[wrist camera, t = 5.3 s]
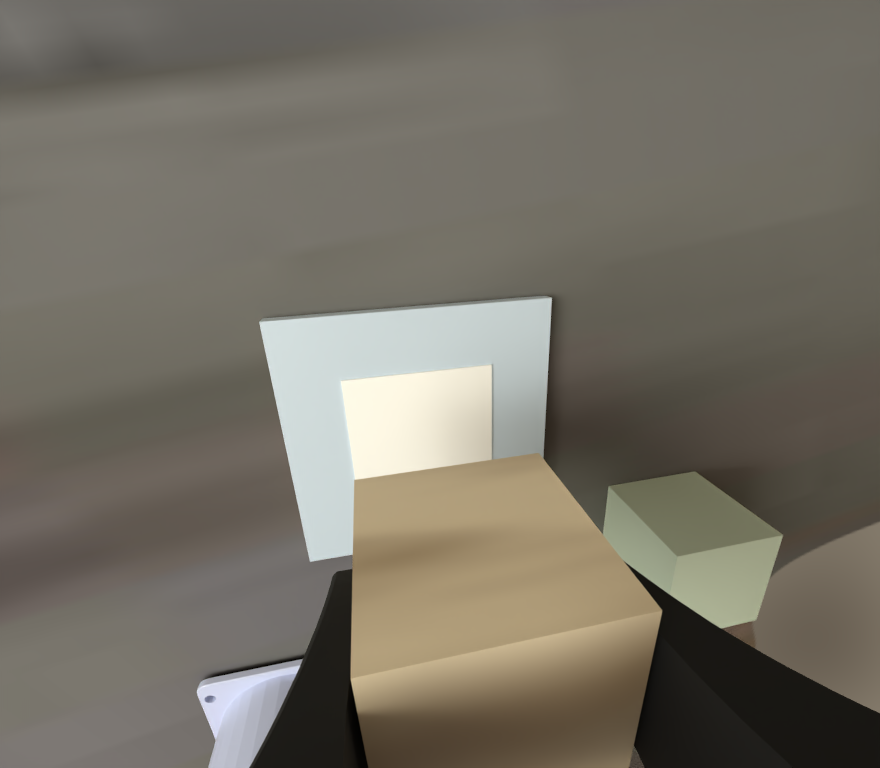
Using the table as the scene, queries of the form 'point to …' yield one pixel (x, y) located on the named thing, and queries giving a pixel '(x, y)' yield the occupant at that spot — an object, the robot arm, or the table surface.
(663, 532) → the sage block
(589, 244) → the table surface
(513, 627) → the maple block
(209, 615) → the table surface
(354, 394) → the board
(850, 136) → the table surface
